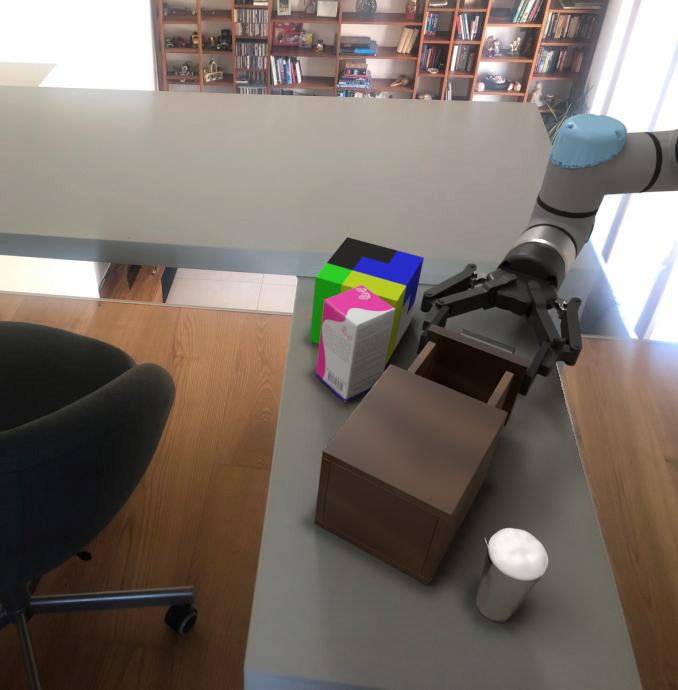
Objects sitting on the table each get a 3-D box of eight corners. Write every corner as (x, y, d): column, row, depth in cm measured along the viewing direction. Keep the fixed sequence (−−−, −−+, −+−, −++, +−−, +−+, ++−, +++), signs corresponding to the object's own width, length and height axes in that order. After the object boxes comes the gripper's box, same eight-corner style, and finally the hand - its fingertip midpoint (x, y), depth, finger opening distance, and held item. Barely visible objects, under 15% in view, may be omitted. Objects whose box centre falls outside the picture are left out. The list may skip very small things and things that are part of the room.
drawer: (434, 360, 84) (449, 301, 78) (522, 395, 79) (545, 335, 73) (369, 450, 73) (381, 390, 68) (467, 497, 69) (488, 437, 63)
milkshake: (452, 580, 63) (477, 514, 56) (512, 581, 63) (544, 515, 56) (464, 628, 59) (492, 564, 53) (528, 630, 59) (563, 565, 53)
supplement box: (383, 384, 82) (397, 308, 75) (344, 404, 80) (355, 327, 73) (351, 357, 86) (362, 282, 79) (313, 375, 84) (321, 299, 76)
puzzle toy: (410, 321, 91) (423, 257, 85) (384, 366, 85) (396, 301, 78) (339, 299, 95) (347, 237, 89) (310, 341, 89) (315, 276, 82)
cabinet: (376, 436, 76) (390, 363, 69) (481, 485, 71) (508, 412, 64) (313, 523, 68) (322, 450, 61) (427, 586, 62) (451, 515, 55)
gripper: (621, 323, 85) (573, 434, 72) (441, 264, 95) (369, 351, 82) (645, 272, 80) (597, 381, 67) (452, 216, 91) (377, 300, 77)
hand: (471, 364), depth 74 cm, fingers closed on drawer, 11 cm apart
